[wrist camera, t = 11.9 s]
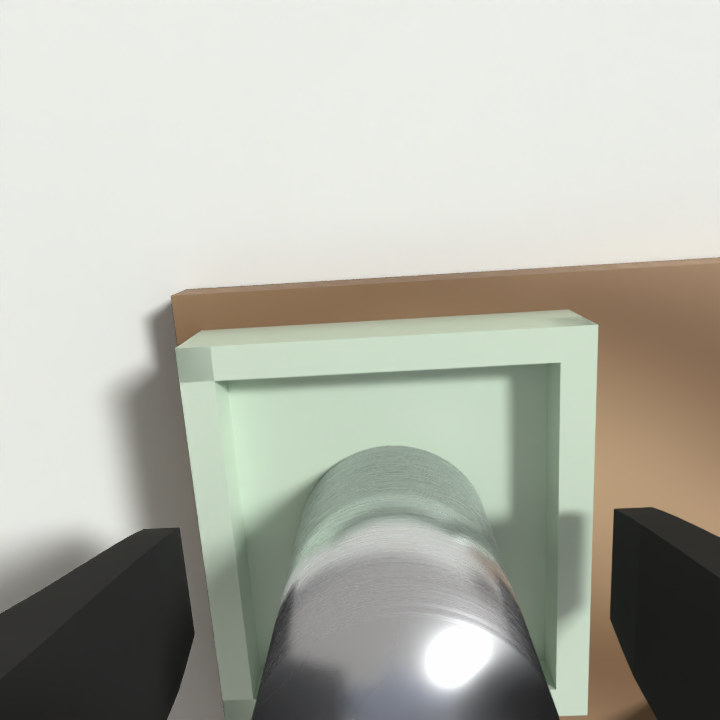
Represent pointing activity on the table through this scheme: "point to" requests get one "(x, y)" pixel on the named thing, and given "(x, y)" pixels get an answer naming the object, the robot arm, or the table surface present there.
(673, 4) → the table surface
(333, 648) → the shiny metal cylinder
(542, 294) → the board
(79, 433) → the table surface
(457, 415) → the tray
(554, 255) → the table surface
